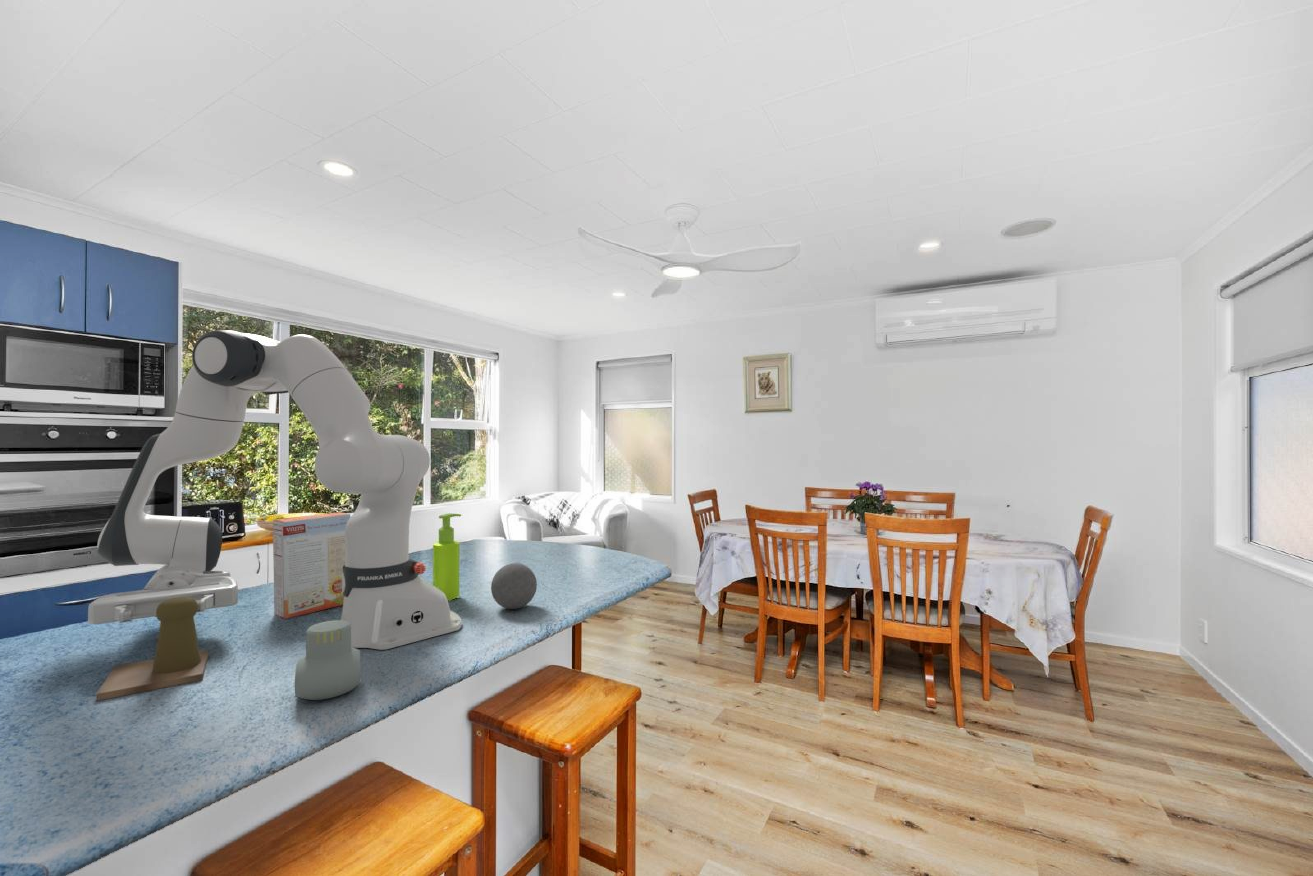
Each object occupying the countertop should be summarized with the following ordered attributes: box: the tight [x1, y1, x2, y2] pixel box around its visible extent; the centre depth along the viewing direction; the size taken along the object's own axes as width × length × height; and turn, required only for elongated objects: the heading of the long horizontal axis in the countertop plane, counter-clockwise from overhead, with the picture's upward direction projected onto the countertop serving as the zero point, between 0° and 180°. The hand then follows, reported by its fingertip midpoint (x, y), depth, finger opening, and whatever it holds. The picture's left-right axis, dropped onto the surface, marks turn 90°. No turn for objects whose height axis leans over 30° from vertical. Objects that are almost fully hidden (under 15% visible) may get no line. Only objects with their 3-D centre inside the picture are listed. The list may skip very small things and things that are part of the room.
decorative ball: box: [490, 562, 538, 610], centre depth 125 cm, size 10×10×10 cm
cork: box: [152, 597, 201, 674], centre depth 91 cm, size 6×6×11 cm
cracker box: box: [272, 511, 351, 620], centre depth 124 cm, size 14×6×21 cm, turn 144°
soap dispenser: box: [432, 513, 462, 601], centre depth 133 cm, size 6×7×20 cm
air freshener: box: [294, 619, 361, 701], centre depth 84 cm, size 11×8×10 cm
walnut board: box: [96, 649, 210, 701], centre depth 89 cm, size 12×12×1 cm
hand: (162, 612), depth 94 cm, fingers open, 8 cm apart
